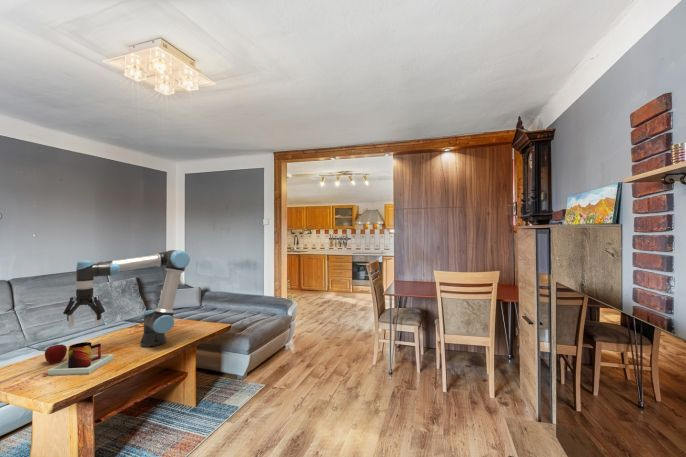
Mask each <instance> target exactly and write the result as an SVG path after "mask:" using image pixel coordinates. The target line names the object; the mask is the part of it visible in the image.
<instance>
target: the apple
mask: <svg viewBox="0 0 686 457" xmlns="http://www.w3.org/2000/svg"><path fill="white" fill-rule="evenodd" d="M67 351H68V347H67V346H66V345H65V344H54V345H51V346H49V347H47V348H46V350H45V351H44V358H45V360H46V362H47V363H48V364H57V363H60V362H62V361H63V360H64V359H65V357H66V355H67Z"/></svg>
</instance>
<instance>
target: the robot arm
mask: <svg viewBox="0 0 686 457" xmlns="http://www.w3.org/2000/svg"><path fill="white" fill-rule="evenodd" d="M190 260H191V258H190V255H189V253H188V252H186V251H185V250H180V249H171V250H167V251H162V252H157V253H155V254H150V255H144V256H137V257H136V256H135V257H129V258H122V259H121V258H120V259H115V260H108V261H99V262H96V263H95V261H94V260H92V259H91V260H79V261H77V262H76V271H75V272H76V273H75V274H76V275H75V276H76V277H75V278H76V279H75V280H76V281H75V282H76V283H75V296H72V297H69V302H68V303H67V305H66V307H65V309H64V310H63V312H62V314H63V315H66V316H67V317H66V321H67V322H68V325H67V326H68V328H71V327H74V325H75V324H74V323H75V322H74V321H75V320H74V319H75V314H74V313H75V312H76V311H77V309H78V308H79V307H80V306H88V307H90V308H91V310H92V311H93V312H94V313H95V314H94V327H98V326H100V320H101V319H102V314H103V313H105V312H106V310H105V308H104V306H103V304H102V302H101V300H100V296H98V295H97V296H94V281H95V278H97V277H113V276H118V275H119V274H120V272H124V271H132V270H137V269H145V268H149V267H150V268H152V267H157V268H158V267H165V270H166V275H165V279H164V282H163V287H162V290H161V293H160V298H159V301H158V304H157V308H155V309H149V310H145V311H144V313H143V334H142V337H141V339H140V341H139V342H140V343H139V344H140V347H141V346H142V347H141V348H151V347H150V346H154V347H158V346H157V345H159V346H161V344H162V345H164V344H166V343H167V337H166V334H165V333H167V332H169V331H171V330H172V328H173V327H174V325H175V319H174V314H175V311H174V310H173V307H174V303H175V300H176V295H177V291H178V288H179V284H180V280H181V275H182V274H183V273H184V272H185V270H186V267H187V266H188V265H189V263H190ZM75 301H76V302H75ZM165 342H166V343H165ZM163 343H164V344H163Z"/></svg>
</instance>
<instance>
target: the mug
mask: <svg viewBox="0 0 686 457" xmlns="http://www.w3.org/2000/svg"><path fill="white" fill-rule="evenodd" d="M96 348H97V355H98V357H95V358H91V355H92V350H93V349H96ZM101 349H102V343H97V344H93V345H92V342H90V341H86V342H85V341H84V342H78V343H74V344H71V345H69V346H68V349H67V351H68V355H67V356H68V357H67V361H68V368H87V367H89V366H91V362H92V361H95V360H98V359H101V355H102V350H101Z"/></svg>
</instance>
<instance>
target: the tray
mask: <svg viewBox="0 0 686 457" xmlns="http://www.w3.org/2000/svg"><path fill="white" fill-rule="evenodd" d="M95 357H98V354H91V358H95ZM113 360H115V355H114V354H101V359H98V360H95V361H92V362H91V366H89V367H87V368H68V360H66V361H64V362H62V363H60V364H58V365H56V366H54V367H52V368H49V369H48V370H47V376H48V377H52V376H53V377H54V376H55V377H57V376H82V375H90V374H92V373H94V372H95V371H97V370H99V369H100V368H102V367H104V366H105V365H107V364H108V363H110V362H112V361H113Z"/></svg>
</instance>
